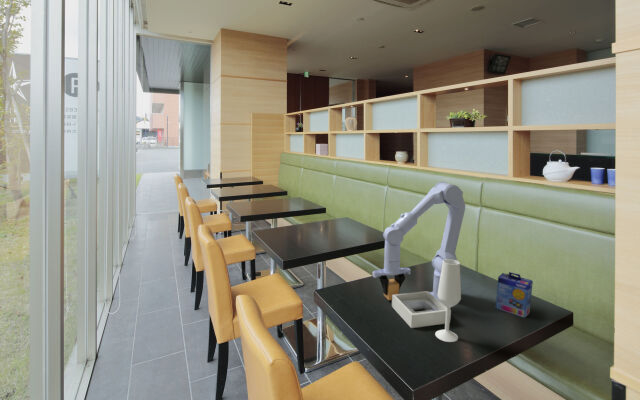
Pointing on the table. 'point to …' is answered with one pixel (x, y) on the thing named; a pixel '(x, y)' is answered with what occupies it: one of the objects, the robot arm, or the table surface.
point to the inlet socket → (419, 305)
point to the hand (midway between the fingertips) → (391, 293)
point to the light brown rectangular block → (392, 289)
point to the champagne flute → (449, 295)
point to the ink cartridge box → (514, 294)
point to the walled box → (419, 318)
